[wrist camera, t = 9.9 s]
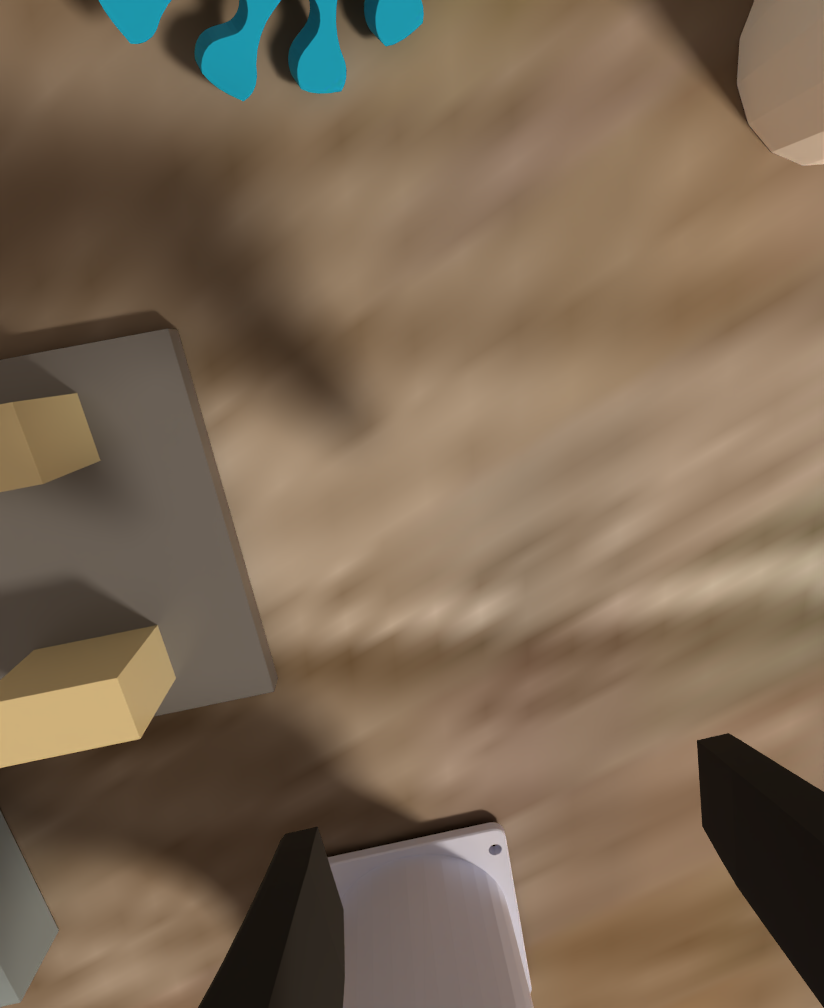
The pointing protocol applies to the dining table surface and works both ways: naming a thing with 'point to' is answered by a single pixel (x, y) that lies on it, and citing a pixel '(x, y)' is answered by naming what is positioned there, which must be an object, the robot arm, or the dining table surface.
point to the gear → (234, 44)
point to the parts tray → (20, 922)
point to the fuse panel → (114, 551)
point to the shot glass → (785, 77)
